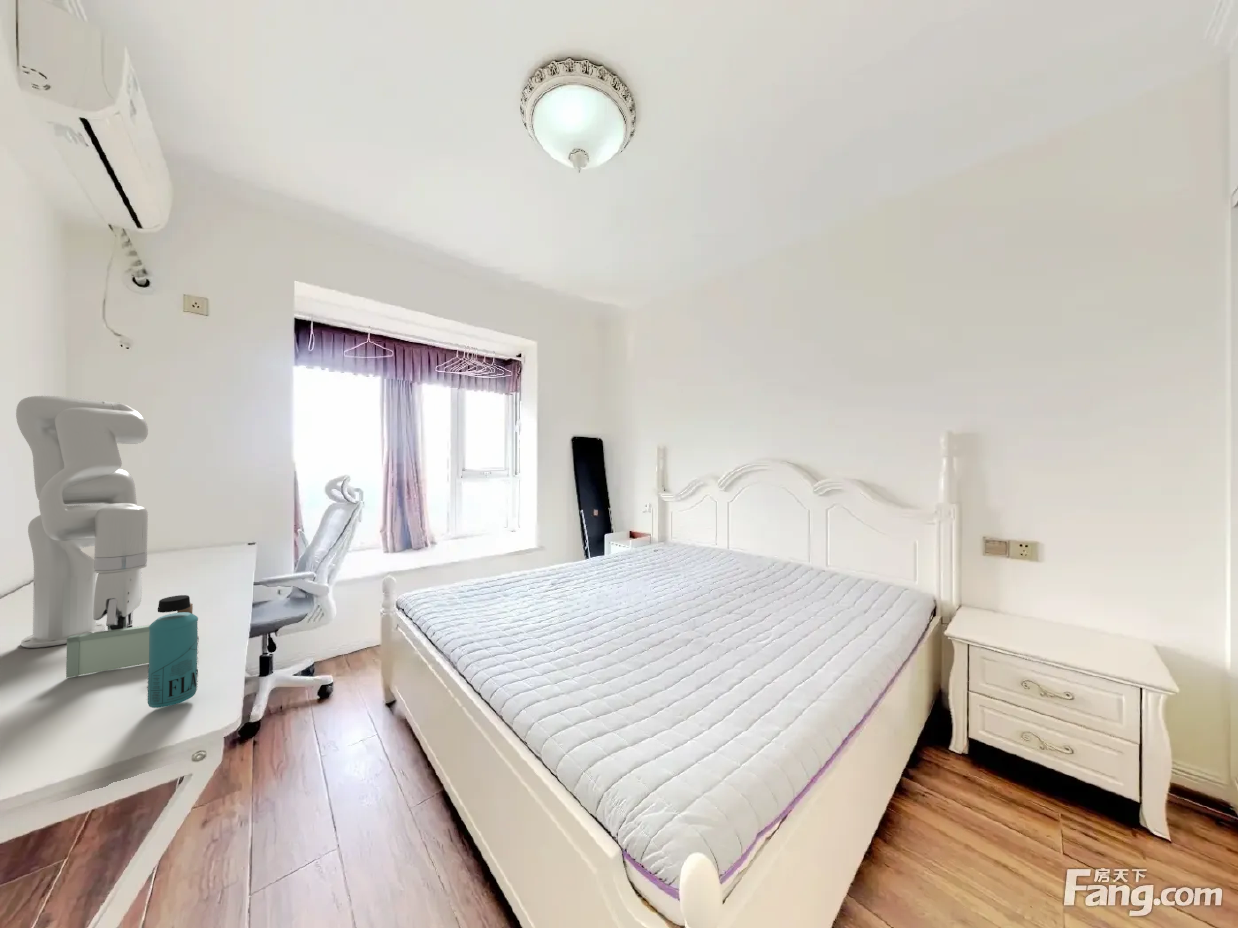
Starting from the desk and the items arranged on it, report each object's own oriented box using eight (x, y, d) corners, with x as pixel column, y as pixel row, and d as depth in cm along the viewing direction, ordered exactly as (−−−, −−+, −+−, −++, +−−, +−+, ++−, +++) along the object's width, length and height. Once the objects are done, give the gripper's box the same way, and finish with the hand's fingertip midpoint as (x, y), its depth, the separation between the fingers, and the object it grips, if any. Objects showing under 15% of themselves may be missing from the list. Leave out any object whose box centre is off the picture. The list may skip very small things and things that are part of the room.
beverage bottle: (163, 719, 73) (166, 604, 73) (135, 714, 74) (137, 601, 74) (207, 699, 79) (209, 593, 79) (180, 694, 81) (182, 590, 81)
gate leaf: (170, 657, 95) (170, 621, 95) (167, 660, 93) (168, 624, 93) (70, 674, 87) (70, 635, 87) (66, 677, 85) (66, 638, 85)
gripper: (109, 558, 97) (108, 637, 97) (78, 572, 84) (77, 663, 84) (157, 554, 101) (155, 630, 101) (134, 567, 89) (132, 654, 89)
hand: (120, 645), depth 93 cm, fingers closed
